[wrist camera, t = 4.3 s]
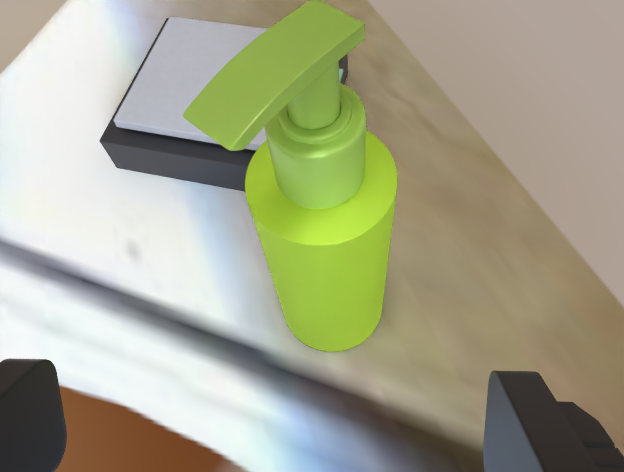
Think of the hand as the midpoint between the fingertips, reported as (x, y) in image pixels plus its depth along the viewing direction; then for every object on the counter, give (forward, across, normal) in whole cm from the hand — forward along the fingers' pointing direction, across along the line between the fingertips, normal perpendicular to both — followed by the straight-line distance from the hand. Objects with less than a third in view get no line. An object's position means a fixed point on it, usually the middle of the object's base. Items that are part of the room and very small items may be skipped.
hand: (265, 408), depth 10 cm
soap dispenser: (+21, 0, +8) cm, 22 cm away
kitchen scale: (+32, +7, -3) cm, 32 cm away
